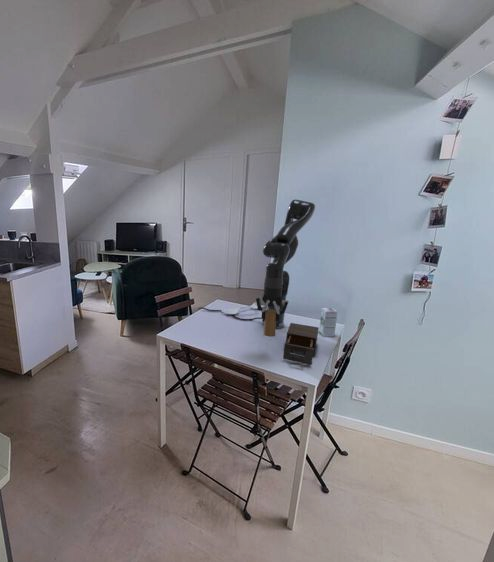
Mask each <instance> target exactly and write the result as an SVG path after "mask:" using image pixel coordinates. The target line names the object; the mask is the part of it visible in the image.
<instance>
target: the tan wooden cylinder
mask: <svg viewBox="0 0 494 562" xmlns="http://www.w3.org/2000/svg"><path fill="white" fill-rule="evenodd" d="M276 314H277V312H276V310H272V309H267V308H266V310H265V321H264V322H263V336H266V337H269V338H273V337H275V336H276V329H277V328H276Z"/></svg>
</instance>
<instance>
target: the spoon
mask: <svg viewBox="0 0 494 562" xmlns="http://www.w3.org/2000/svg"><path fill="white" fill-rule="evenodd" d="M264 305H265V304H264ZM264 305H263V304H261V307H262V308H263V307H264ZM246 308H249V309H253V310H258V307H257V302H256V301H255V302H253V304H251V305H242V306H240V307H236V308H226V309H221V310H222V313H223V314H225V315H230V316H232V314H233V315H237V314H238V313H239V312H240V310H241V309H246Z"/></svg>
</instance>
